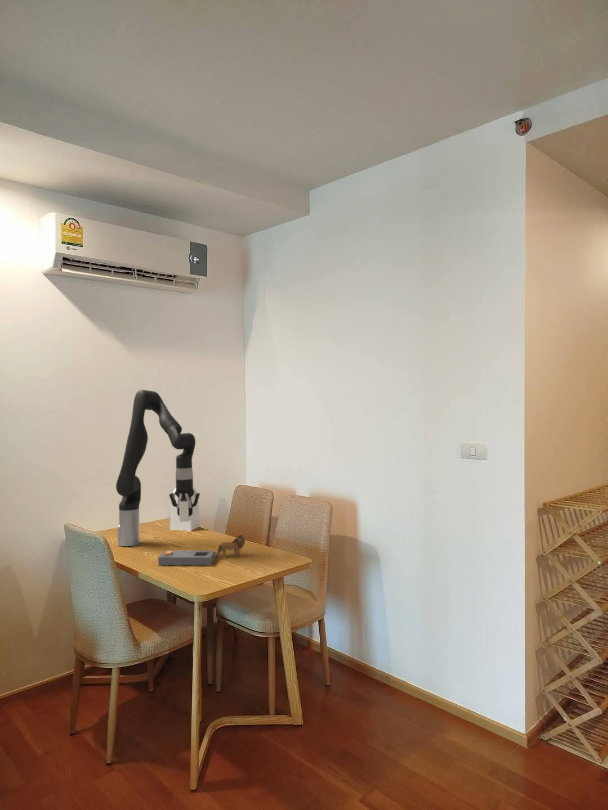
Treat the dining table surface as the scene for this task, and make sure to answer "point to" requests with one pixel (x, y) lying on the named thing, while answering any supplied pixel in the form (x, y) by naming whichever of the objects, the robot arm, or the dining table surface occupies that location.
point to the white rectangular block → (184, 511)
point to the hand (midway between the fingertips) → (185, 515)
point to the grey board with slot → (186, 558)
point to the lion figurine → (232, 546)
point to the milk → (187, 526)
